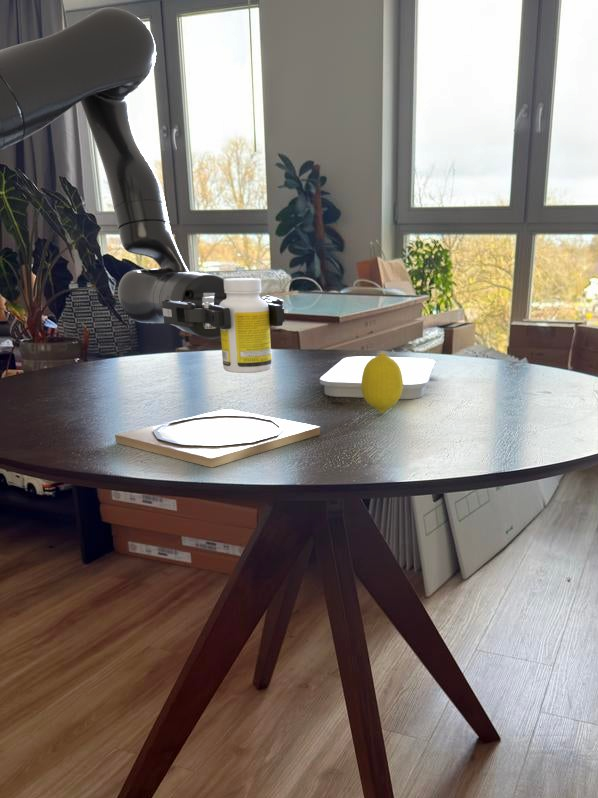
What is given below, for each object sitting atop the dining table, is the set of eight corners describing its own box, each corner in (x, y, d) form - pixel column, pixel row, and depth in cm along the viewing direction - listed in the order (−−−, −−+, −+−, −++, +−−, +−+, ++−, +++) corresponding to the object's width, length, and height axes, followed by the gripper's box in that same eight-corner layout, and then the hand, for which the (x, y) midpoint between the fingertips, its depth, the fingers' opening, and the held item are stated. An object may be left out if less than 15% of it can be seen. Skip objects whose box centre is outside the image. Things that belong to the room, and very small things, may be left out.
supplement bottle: (281, 367, 83) (277, 278, 79) (254, 375, 78) (248, 281, 75) (241, 364, 85) (236, 276, 81) (213, 371, 80) (206, 279, 77)
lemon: (360, 417, 95) (360, 356, 92) (362, 408, 100) (362, 349, 97) (402, 417, 95) (403, 356, 92) (402, 408, 100) (403, 350, 97)
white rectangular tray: (436, 371, 129) (436, 358, 129) (425, 400, 105) (425, 385, 104) (346, 368, 131) (346, 355, 131) (316, 396, 107) (315, 381, 106)
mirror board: (211, 467, 73) (211, 456, 73) (115, 442, 82) (114, 432, 82) (320, 434, 86) (320, 424, 86) (227, 416, 95) (226, 407, 95)
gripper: (137, 273, 85) (186, 282, 72) (250, 271, 93) (312, 279, 80) (144, 338, 88) (192, 358, 75) (253, 331, 96) (314, 348, 82)
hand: (254, 317), depth 77 cm, fingers closed on supplement bottle, 5 cm apart
